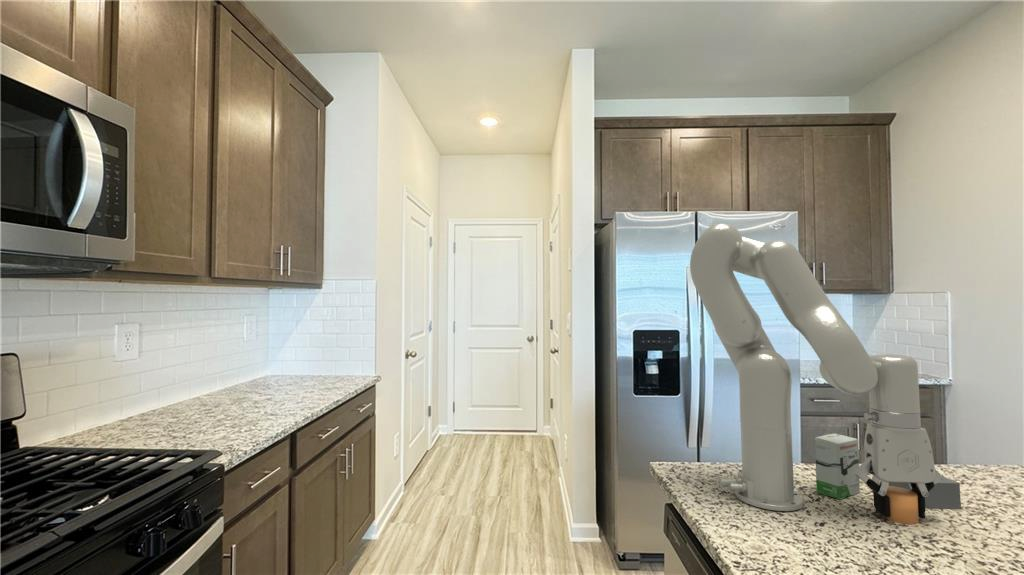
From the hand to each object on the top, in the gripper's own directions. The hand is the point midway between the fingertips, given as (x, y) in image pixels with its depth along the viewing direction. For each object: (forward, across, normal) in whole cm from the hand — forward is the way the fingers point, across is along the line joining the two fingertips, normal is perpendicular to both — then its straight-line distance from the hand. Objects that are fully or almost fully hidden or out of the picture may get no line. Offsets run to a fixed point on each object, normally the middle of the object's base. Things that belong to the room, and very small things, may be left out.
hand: (899, 513), depth 87 cm
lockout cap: (+1, 0, 0) cm, 1 cm away
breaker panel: (+1, +11, +9) cm, 14 cm away
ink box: (+1, -4, +12) cm, 13 cm away
